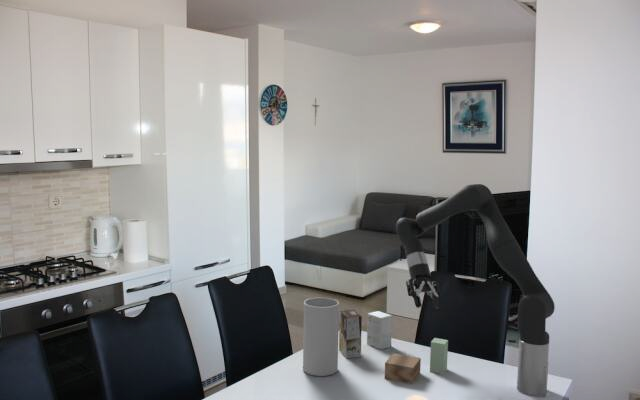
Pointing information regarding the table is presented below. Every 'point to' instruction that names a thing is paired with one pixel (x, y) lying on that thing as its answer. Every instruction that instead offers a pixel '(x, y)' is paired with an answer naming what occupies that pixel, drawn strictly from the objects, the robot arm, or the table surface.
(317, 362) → the cylinder vase
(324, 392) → the table surface
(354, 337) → the coffee box
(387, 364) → the walnut block
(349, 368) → the table surface
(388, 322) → the small box
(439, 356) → the sage block
